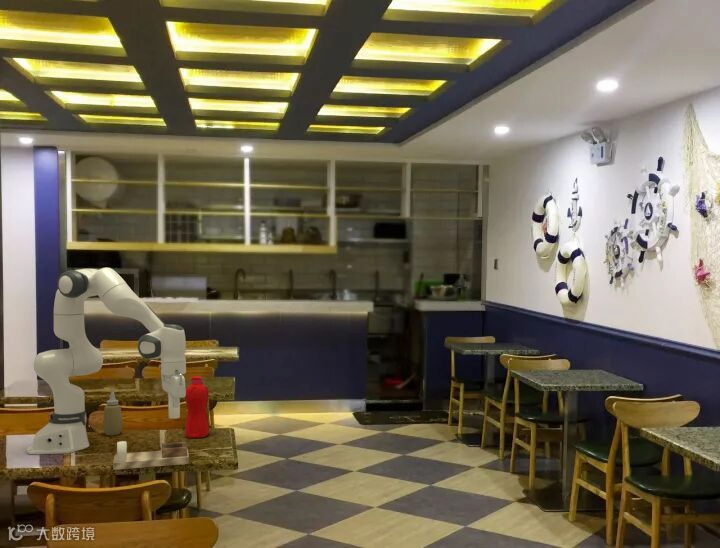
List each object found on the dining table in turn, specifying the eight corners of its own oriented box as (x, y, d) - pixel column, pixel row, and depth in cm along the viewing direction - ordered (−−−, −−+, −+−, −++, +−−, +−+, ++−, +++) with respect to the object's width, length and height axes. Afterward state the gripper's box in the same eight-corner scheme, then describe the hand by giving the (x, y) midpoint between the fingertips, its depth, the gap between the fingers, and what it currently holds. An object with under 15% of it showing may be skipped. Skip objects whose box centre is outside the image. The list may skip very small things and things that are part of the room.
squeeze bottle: (98, 435, 299) (98, 393, 299) (111, 431, 307) (111, 389, 307) (114, 437, 296) (113, 394, 296) (126, 432, 304) (126, 390, 304)
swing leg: (118, 455, 259) (118, 437, 259) (127, 454, 260) (127, 437, 260) (117, 461, 250) (116, 443, 250) (126, 461, 251) (126, 443, 251)
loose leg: (166, 418, 260) (166, 393, 259) (172, 416, 263) (171, 391, 263) (176, 418, 259) (176, 394, 258) (181, 416, 262) (181, 392, 262)
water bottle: (209, 438, 293) (209, 378, 293) (183, 438, 293) (182, 378, 293) (214, 433, 302) (214, 374, 302) (189, 433, 303) (188, 374, 302)
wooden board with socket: (113, 469, 250) (113, 454, 250) (115, 460, 261) (114, 446, 261) (189, 463, 257) (189, 448, 257) (187, 455, 268) (187, 440, 268)
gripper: (189, 371, 253) (190, 410, 253) (175, 364, 271) (175, 400, 271) (172, 373, 250) (172, 412, 250) (158, 366, 268) (158, 402, 268)
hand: (173, 406), depth 261 cm, fingers closed on loose leg, 4 cm apart
